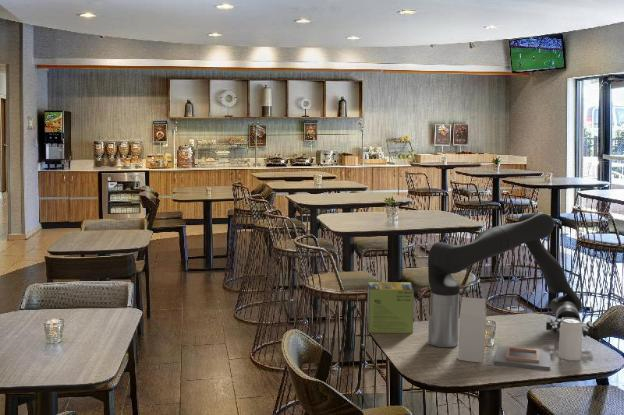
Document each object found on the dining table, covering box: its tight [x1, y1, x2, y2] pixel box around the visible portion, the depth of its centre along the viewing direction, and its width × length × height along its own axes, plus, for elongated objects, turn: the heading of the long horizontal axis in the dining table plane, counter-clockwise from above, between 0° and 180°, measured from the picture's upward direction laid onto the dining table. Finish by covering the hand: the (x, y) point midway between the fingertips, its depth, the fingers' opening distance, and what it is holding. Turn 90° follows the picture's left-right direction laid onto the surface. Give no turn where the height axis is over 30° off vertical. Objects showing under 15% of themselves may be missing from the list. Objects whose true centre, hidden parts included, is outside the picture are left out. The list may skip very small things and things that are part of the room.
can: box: [558, 318, 583, 362], centre depth 214 cm, size 6×6×12 cm
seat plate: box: [493, 344, 551, 371], centre depth 214 cm, size 16×15×2 cm
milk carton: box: [457, 296, 487, 364], centre depth 213 cm, size 7×7×19 cm
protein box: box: [366, 281, 415, 334], centre depth 242 cm, size 10×15×16 cm
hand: (570, 332), depth 218 cm, fingers open, 8 cm apart
